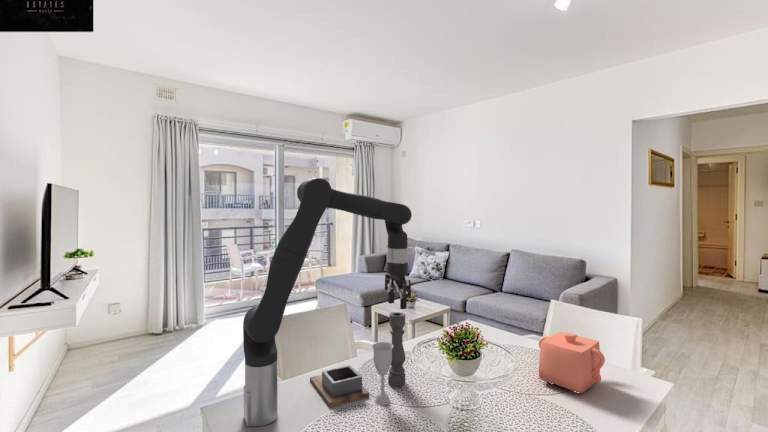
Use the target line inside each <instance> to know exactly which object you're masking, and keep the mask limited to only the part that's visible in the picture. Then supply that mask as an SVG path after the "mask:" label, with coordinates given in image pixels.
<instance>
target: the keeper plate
mask: <svg viewBox="0 0 768 432" xmlns="http://www.w3.org/2000/svg"><path fill="white" fill-rule="evenodd" d="M309 382H310V384H311V385H312V386H313V388H314V389H315V390H316V392H317V393H318V394H319V396H320V398H322V399H323V401H324V402H325V403H326V405H327V406H328V408H333V407H336V406H341V405H344V404H348V403H351V402H356V401H360V400H363V399H367V398H370V392H369V391H368V390H367V389H366V388H365V387H364V386H363V385H362V392H358V393H354V394H350V395H346V396H342V397H338V398H334V399H333V398H332V397H331V396H330V395H329V393H328V392H327V391H326V390H325V388H324V387H323V386H322V374H320V375H315V376H310V377H309Z"/></svg>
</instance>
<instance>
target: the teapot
mask: <svg viewBox="0 0 768 432" xmlns="http://www.w3.org/2000/svg"><path fill="white" fill-rule="evenodd" d="M538 347H539V356H538V357H539V361H538V379H539V380H542V381H545V382H547V383H548V382H550V383H553V384H556V385H557V386H559V387H561V388H564V389H568V390H570V391H572V390H573V391H576V392H579V393H581V394H583V393H584V392H586V391H587V390H588V389H590V388H591V387H592V386H594V385H595V383H600V382H601V380H602V376H601V369H602V368H603V366H604V365H605V362H606V359H605V356H604V353H603V352H601V349H600V342H599V340H596V339H592V338H588V337H585V336H584V337H583V336H580V335H577V334H576V333H572V332H563V331H559V332H555V333H554V334H552V335H550V336H548V335H545V336H543V337H541V338H540V339H539V341H538ZM556 385H555V386H556ZM573 391H572V392H573ZM579 393H578V394H579Z"/></svg>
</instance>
